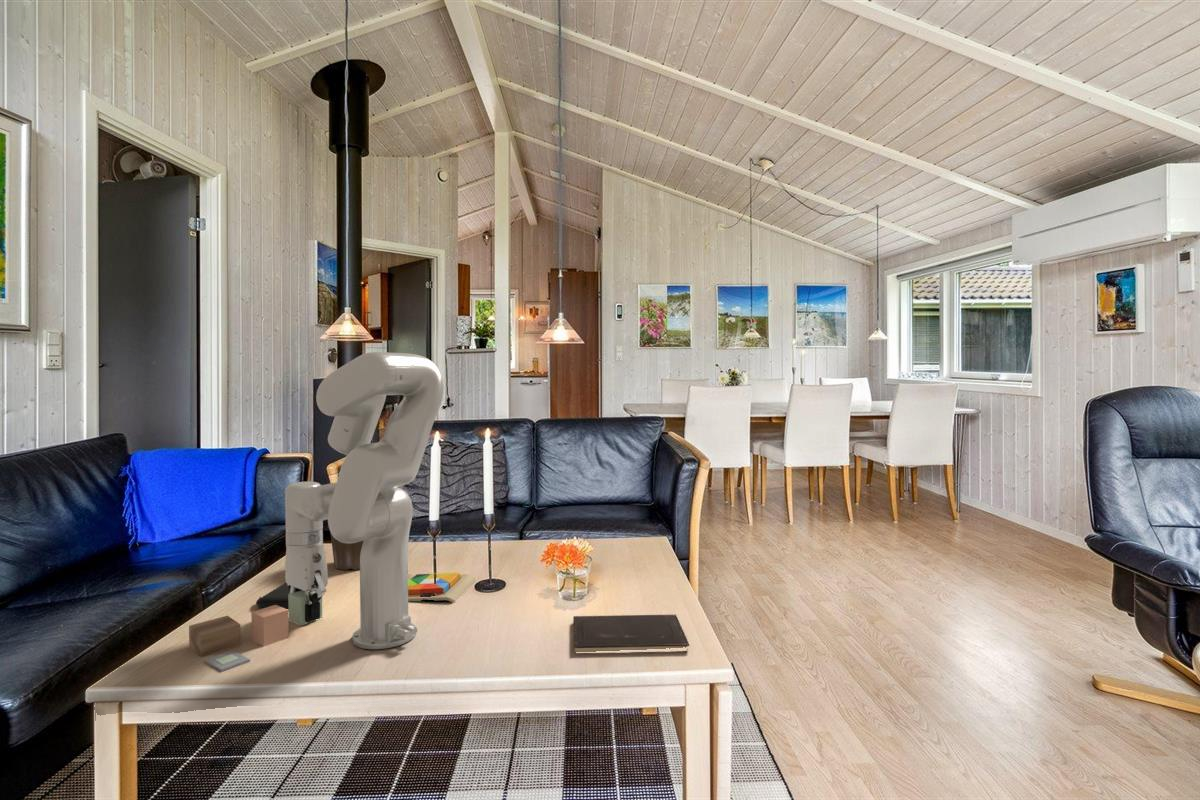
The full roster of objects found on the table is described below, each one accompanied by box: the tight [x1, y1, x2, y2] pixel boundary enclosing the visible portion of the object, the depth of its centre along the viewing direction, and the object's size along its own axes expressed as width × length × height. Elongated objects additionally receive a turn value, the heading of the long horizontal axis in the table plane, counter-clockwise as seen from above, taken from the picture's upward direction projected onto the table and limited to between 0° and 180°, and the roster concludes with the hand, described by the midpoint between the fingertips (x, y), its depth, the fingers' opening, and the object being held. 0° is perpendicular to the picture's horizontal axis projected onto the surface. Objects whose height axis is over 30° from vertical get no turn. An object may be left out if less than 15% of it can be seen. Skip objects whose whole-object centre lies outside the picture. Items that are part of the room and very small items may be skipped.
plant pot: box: [327, 524, 364, 571], centre depth 178 cm, size 16×16×16 cm
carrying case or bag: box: [255, 582, 315, 609], centre depth 150 cm, size 11×3×15 cm
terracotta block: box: [251, 605, 289, 647], centre depth 127 cm, size 5×5×6 cm
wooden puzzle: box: [408, 572, 476, 603], centre depth 157 cm, size 18×19×4 cm
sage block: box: [288, 590, 323, 626], centre depth 137 cm, size 5×5×6 cm
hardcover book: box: [572, 613, 690, 653], centre depth 128 cm, size 16×23×2 cm
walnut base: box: [188, 615, 242, 658], centre depth 123 cm, size 7×7×4 cm
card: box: [203, 649, 251, 672], centre depth 116 cm, size 7×5×1 cm
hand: (305, 616), depth 137 cm, fingers closed on sage block, 5 cm apart
